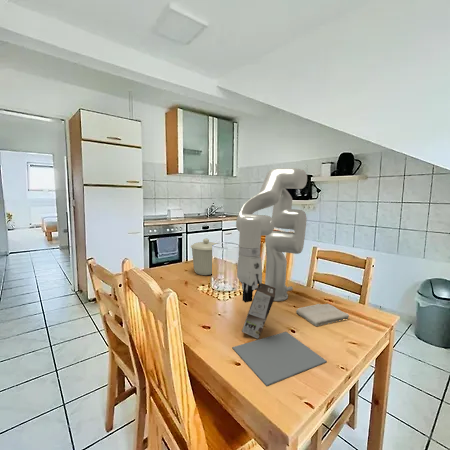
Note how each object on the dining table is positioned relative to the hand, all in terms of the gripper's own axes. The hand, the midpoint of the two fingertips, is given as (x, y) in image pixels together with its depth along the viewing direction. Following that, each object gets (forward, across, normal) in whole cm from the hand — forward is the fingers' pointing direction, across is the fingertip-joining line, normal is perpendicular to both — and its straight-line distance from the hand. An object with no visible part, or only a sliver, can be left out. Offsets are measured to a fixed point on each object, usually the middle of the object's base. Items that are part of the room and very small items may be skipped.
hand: (247, 301), depth 95 cm
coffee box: (+10, -3, 0) cm, 10 cm away
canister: (+10, +65, -11) cm, 67 cm away
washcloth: (+11, -5, -33) cm, 35 cm away
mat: (+10, -18, 0) cm, 21 cm away
